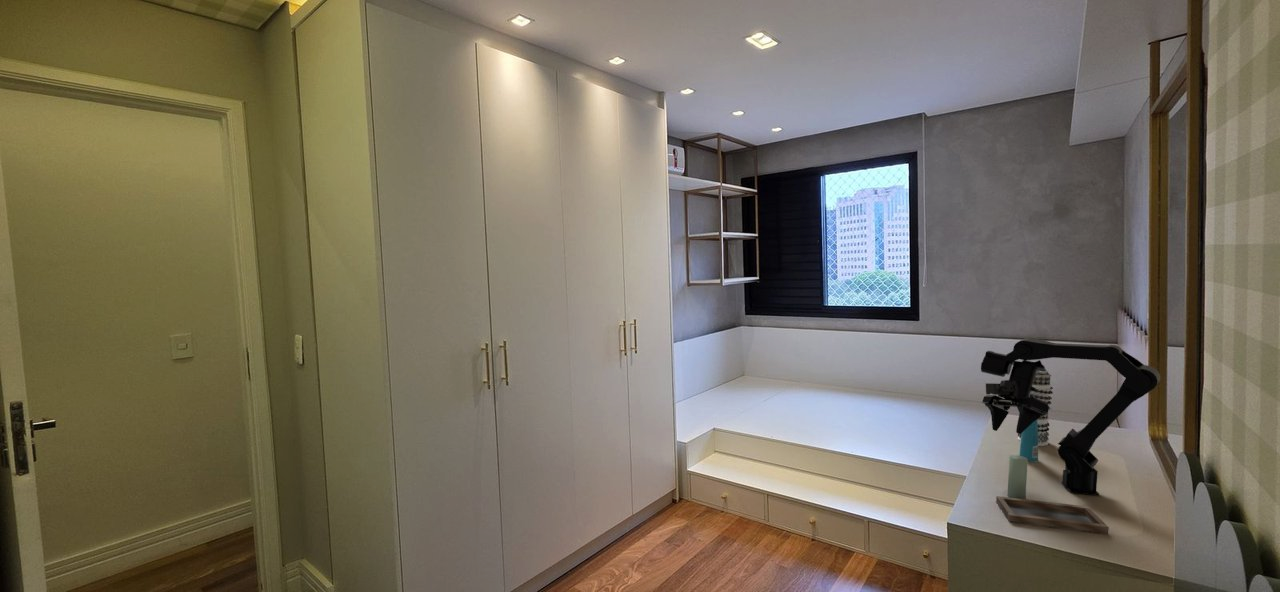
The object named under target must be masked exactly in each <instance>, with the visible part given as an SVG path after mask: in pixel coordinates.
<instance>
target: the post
mask: <svg viewBox="0 0 1280 592" xmlns="http://www.w3.org/2000/svg"><path fill="white" fill-rule="evenodd" d="M1008 458H1009V460H1008V475H1007V476H1008V477H1007V479H1008V480H1007V496H1006V497H1010V498H1018V499H1026V497H1027V480H1028V477H1027V476H1028V462H1029V461H1028V459H1027V458H1025V457H1023V456H1019V454H1018V455H1017V454H1011V455H1009V457H1008Z"/></svg>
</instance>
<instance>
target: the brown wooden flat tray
mask: <svg viewBox="0 0 1280 592" xmlns="http://www.w3.org/2000/svg"><path fill="white" fill-rule="evenodd" d="M995 498H996V501H995V503H996V504H998V505H997V507H999V509H1000V511H1001V510H1002V511H1001V512H1002V514H1003V513H1004V514H1003V515H1004V516H1005V518H1006V520H1007V521H1008V523H1012V524H1013V523H1015V524H1023V525H1030V526H1038V527H1039V526H1040V527H1048V528H1055V529H1062V530H1069V531H1077V532H1083V533H1084V532H1086V533H1092V534H1094V533H1095V534H1102V535H1109V530H1110V528H1109V527H1110V526H1108V525H1107V524H1106V523H1105V522H1104V520H1102V519H1101V518H1100V517H1099V515H1097V514H1096V513H1095V512H1094V511H1093V510H1092V509H1091V508H1090V507H1089V506H1088V505H1087V506H1086V505H1078V504H1070V503H1061V502H1053V501H1052V502H1051V501H1045V500H1044V501H1042V500H1036V499H1035V500H1034V499H1026V498H1025V499H1018V498H1010V497H1008V496H999V495H997V496H996V497H995Z"/></svg>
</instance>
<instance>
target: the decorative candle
mask: <svg viewBox="0 0 1280 592" xmlns="http://www.w3.org/2000/svg"><path fill="white" fill-rule="evenodd" d="M1051 377H1052V375H1051V374H1050V373H1049V372H1048V371H1047V370H1046V371H1045V372H1044V371H1039V370H1037V372H1036V375H1035V378H1034V382H1033V385H1032V387H1034V388H1036V389H1035V391H1031V392H1030V396H1029V397H1035V398H1037V399H1039V400H1042V401H1044V402H1046V403H1048V405H1051V404H1052V402H1051V400H1052V399H1053V398H1052V397H1051V395H1052V394H1054V393H1053V391H1052V390H1053V388H1054V387H1053V386H1051ZM1051 409H1052V407H1050V408H1049V411H1051ZM1049 411H1048V412H1049ZM1042 414H1044V413H1042ZM1037 423H1038V447H1039V446H1041V447H1042V446H1043V447H1045V446H1048V445H1049V442H1048V441H1049V436H1050V434H1049V432H1048V431H1050V428H1049V427H1050V423H1049V413H1048V414H1044V415H1043V416H1041V417H1039V418H1038V419H1037ZM1017 436H1018V437H1017V440H1018V441H1020V442H1021V436H1022V433H1021V434H1018V433H1017Z"/></svg>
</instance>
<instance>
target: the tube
mask: <svg viewBox="0 0 1280 592" xmlns="http://www.w3.org/2000/svg"><path fill="white" fill-rule="evenodd" d="M1018 456H1023V457H1025V458H1027V459H1028V462H1029V463H1036V462H1038V461H1039V446H1038V423H1037V420H1036V421H1034V422H1033V423H1032V424H1031V425H1030V426H1029V427H1028V428H1027V429H1025V430H1024V431H1023V432H1022V436H1021V441H1020V445H1019V454H1018Z"/></svg>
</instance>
